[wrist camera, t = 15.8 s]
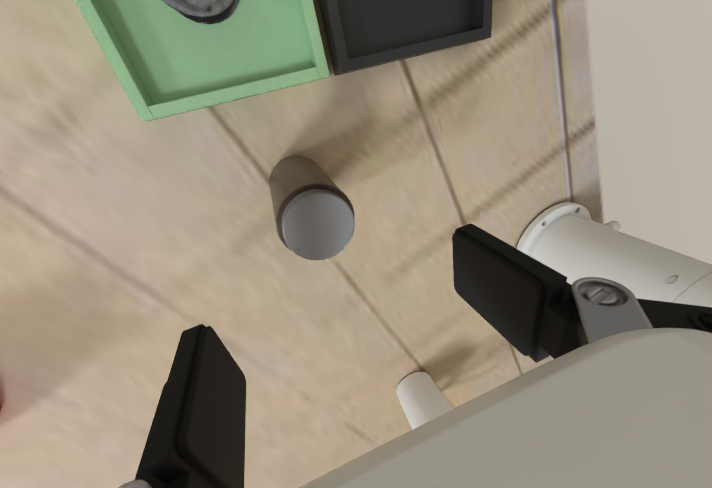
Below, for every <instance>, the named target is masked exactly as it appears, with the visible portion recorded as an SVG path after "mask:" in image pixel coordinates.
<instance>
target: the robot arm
mask: <svg viewBox="0 0 712 488" xmlns="http://www.w3.org/2000/svg"><path fill="white" fill-rule="evenodd" d="M619 228H620V224H619V222H617V221H612V222H609V223H607V224H602V223H599V222H596V221H593V220H591V216H590V213H589V211H588V210H587V209H586V208H585V207H584V206H582V205H580V204H576V203H573V202H564V203H559V204H557V205H554V206H552V207H550V208H549V209H547V210H545V211H544V212H543V213H541V214H540V215H539V216H538V217H537V218H536V219H534V220H533V221H532V222H531V224H530V225H529V226H528V227H527V229H526V230H525V232H524V233H523V235H522V236H521V238H520V240H519V243H518V245H517V248H514V247H512V246H511V245H509V244H507V243H505V242H503V241H502V240H500V239H498V238H496V237H494V236H493V235H491V234H489V233H487V232H486V231H484V230H482V229H480V228H478V227H477V226H475V225H473V224H468V225H465V226H462V227H460V228H457V229H456V231H455V233H454V234H453V237H452V240H453V268H454V287H455V290H456V292H457V293H458V294H459V295H460V296H461V297H462V298H463V299H464V300H465V301H466V302H467V303H468V304H469V305H470V306H471V307H472V308H473V309H475V310H476V311H477V312H478V313H479V314H480V315H481V316H482V317H483V318H484V319H485V320H486V321H487V322H488V323H489V324H490V325H492V326H493V327H494V328H495V329H496V330H497V331H498V332H499V333H500V334H501V335H502V336H503V337H504V338H505V339H506V340H508V341H509V342H510V343H511V344H512V345H513V346H514V347H515V348H516V349H517V350H518V351H519V352H520V353H522V354H523V355H525V356H527V355H528V356H529V357H530V358H532V359H533V360H534V361H535V362H536V363H537V362H539V361H541V360H543V359H545V358H547V357H549V355H551V356H552V357H553V358H554V360H552V361H550V362H548V363H545V364H543V365H541V366H539V367H537V368H535V369H533V370H531V371H529V372H527V373H525V374H523V375H521V376H519V377H517V378H515V379H513V380H511V381H509V382H507V383H505V384H503V385H501V386H499V387H497V388H495V389H493V390H491V391H489V392H487V393H485V394H483V395H481V396H479V397H477V398H475V399H473V400H471V401H469V402H467V403H465V404H463V405H461V406H459V407H457V408H455V409H453V410H451V411H449V412H447V413H445V414H443V415H441V416H439V417H437V418H435V419H433V420H431V421H429V422H427V423H425V424H423V425H421V426H419V427H417V428H415V429H413V430H411V431H409V432H407V433H405V434H403V435H401V436H399V437H397V438H395V439H393V440H392V441H390V442H388V443H386V444H384V445H382V446H380V447H378V448H376V449H374V450H372V451H370V452H368V453H366V454H364V455H362V456H360V457H358V458H356V459H354V460H352V461H350V462H348V463H346V464H344V465H342V466H341V467H339V468H337V469H335V470H333V471H331V472H329V473H327V474H325V475H323V476H321V477H319V478H317V479H315V480H313V481H311V482H309V483H307V484H305V485H303V486H301V487H299V488H712V265H711V264H708V263H706V262H703V261H700V260H697V259H694V258H692V257H689V256H686V255H683V254H680V253H678V252H675V251H672V250H669V249H666V248H664V247H661V246H658V245H655V244H652V243H649V242H647V241H644V240H641V239H638V238H636V237H633V236H630V235H627V234H624V233H621V232H619V231H616V230H618V229H619ZM245 412H246V379H245V376H244V374H243V372H242V371H241V369H240V368H239V366H238V365H237V363H236V362H235V360H234V359H233V358H232V356H231V355H230V353H229V352H228V350H227V349H226V347H225V346H224V344H223V343H222V341H221V340H220V338H219V337H218V336H217V334H216V333H215V331H214V330H213V328H212V327H211V326H208V327H205V326H204V325H203V324H201V325H198V326H196V327H193V328H190V329H188V330H185V331H183V332H182V334H181V338H180V341H179V344H178V348H177V351H176V354H175V358H174V361H173V364H172V368H171V371H170V374H169V378H168V381H167V382H166V383H165V385H164V387H163V390H162V393H161V397H160V400H159V403H158V406H157V409H156V413H155V416H154V419H153V422H152V426H151V429H150V432H149V435H148V439H147V442H146V445H145V448H144V451H143V455H142V458H141V461H140V464H139V468H138V471H137V474H136V477H135V480H133V481H130V482H128V483H125V484H123V485H122V486H120V487H119V488H244V460H245Z"/></svg>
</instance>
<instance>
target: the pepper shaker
mask: <svg viewBox="0 0 712 488" xmlns="http://www.w3.org/2000/svg"><path fill="white" fill-rule="evenodd" d="M270 189H271V195H272V202H273V208H274V215H275V221H276V228H277V232H278V235H279V237H280V239H281V241H282V242H283V244H284V245H285V246H286V247H287V248H289V249H290V250H291V251H293V252H294V253H295V254H297V255H298V256H300V257H302V258H305V259H309V260H323V259H327V258H330V257H333V256H335V255H336V254H338V253H339V252H341V251H342V250H343V249H344V248H345V247H346V246H347V245H348V243H349V242H350V240H351V238H352V235H353V232H354V210H353V207H352V204H351V202H350V200H349V199H348V197H347V196H346V195H345V194H344V193H343V192H342V191H341V190H340V189H339V188H338V187H337V186H336V185H335V183H334V182H333V181H332V180H331V179H330V178H329V177H328V176H327V175H326V174H325V173H324V172H323V171H322V170H321V169H320V168H319V167H318V166H317V165H316V164H315V163H314V162H313V161H311V160H310V159H308V158H305V157H301V156H292V157H288V158H285V159H283V160H282V161H280V162H279V163H278V164H277V165H276V166H275V167H274V169H273V171H272V173H271V176H270Z"/></svg>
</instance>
